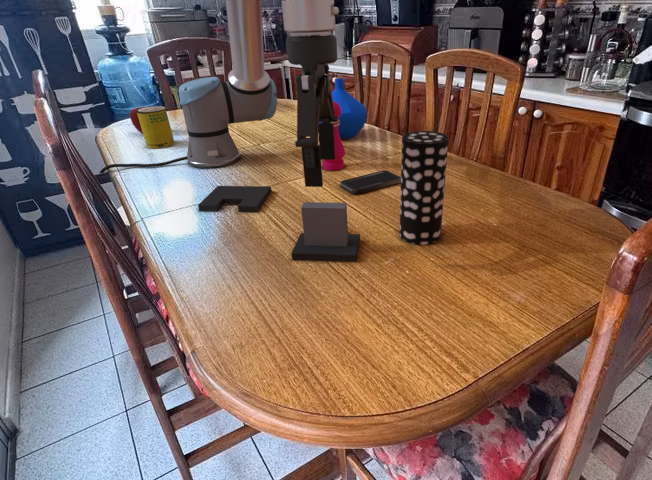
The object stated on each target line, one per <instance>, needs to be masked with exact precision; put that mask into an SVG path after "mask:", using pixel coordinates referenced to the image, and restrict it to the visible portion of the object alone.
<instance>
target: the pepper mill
mask: <svg viewBox="0 0 652 480" xmlns="http://www.w3.org/2000/svg"><path fill="white" fill-rule="evenodd" d="M332 99H333V98H332ZM333 105H334V111H335V115H334V116H337V122H331V123H333V126H334V142H335V160H322V161H321V165H322V169H323V170H325V171H330V172H331V171H339V170H342V169H343V168H344V167H345V161H344V157H345V155H346V149H345V145H344V143H343V141H342V139H340V136H339V131H338V126H339V125H340V123H339V121H340V120H339V119H338V118H339V116H340V115H341V108H340V106H339V104H338V103H336V102H334V101H333Z"/></svg>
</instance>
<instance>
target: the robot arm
mask: <svg viewBox="0 0 652 480" xmlns="http://www.w3.org/2000/svg"><path fill="white" fill-rule="evenodd" d="M262 2H263V1H262V0H225V7H226V19H227V25H228V26H227V27H228V34H229V35H228V36H229V46H230V55H231V65H232V69H231V70H230V71H229V72H228V76H227V80H228V81H221V79H220V78H219V77H218V76H210V77H209V76H208V77H207V76H206V77H201V78H196V79H193V80H189V81H187V82H184V83H183V84H181V85H180V86H179V87H178V95H179V96H178V97H179V104H180V106H181V109H182V114H183V119H184V122H185V126H186V127H185V128H186V132H187V136H188V143H187V144H188V145H187V153H186V154H187V155H186V156H182V157H178V158H175V159H174V158H173V159H170V160H168V161H163V162H156V163H113V164H108V165H106V166H104V167H103V168H101V170H100V171H99V173H98V174H100V175H101V174H104V173H105V172H106V171H107V170H110V169H113V168H135V167H136V168H155V167H162V166H167V165H171V164H175V163H178V162H182V161H187V162H188V163H187V164H188V165H189V166H191V167H193V168H199V169H213V168H214V169H215V168H220V167H225V166H229V165H231V164H234V163H237V161H239V160H240V158H241V157H240V151H239V149H238V147H237V145H236V142H235V141H234V139H233V137H232V136H231V133H230V130H229V125H230V124H238V123H239V124H240V123H248V122H256V121H258V122H260V121H261V122H262V121H264V120H268V119H269V120H270V119H272V118H273V117H274V116H275V115H276V111H277V106H278V96H277V87H276V84H275V82H274V80H273V79H272V78H271V77H270V75H269V73H268V72H267V71H266V70H265V55H264V52H265V51H264V31H263V7H262V5H263V4H262ZM281 8H282V9H281V10H282V19H283V20H282V21H283V31H284V32H286V33H288V36H286V38H285V45H286V56H287V61H288V63H290V64H291V65H294V66H298V65H299V66H301V74H296V75H295V76H296V77H295V82H296V95H297V96H296V105H297V106H296V110H297V111H296V140H295V141H294V147H296V148H300V149H301V157H302V166H303V167H302V168H303V176H304V177H303V178H304V187H305V188H306V187H307V188H323V186H324V182H323V181H324V179H323V166H322V161H323V160H335V142H334V126H333V123H331V122H337V116H334V115H335V111H334V105H333V99H332V93H333V91H332V87H331V86H332V85H331V79H330V66H329V64H334V63H336V62H337V61H338V44H337V43H338V42H337V37H336V35H335V34H333V33H332V32H333V31H335V30H336V17H335V16H336V15H337V16H338V15H339V13H340V9H339V7H337V6H335V0H281ZM319 122H322V123H319Z"/></svg>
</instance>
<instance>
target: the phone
mask: <svg viewBox="0 0 652 480" xmlns="http://www.w3.org/2000/svg"><path fill="white" fill-rule="evenodd" d="M339 184H340V185H339V186H340V188H342V189H344V190H346V191H347V192H349V193H350V194H352V195H360V194H364V193H368V192H371V191H375V190H378V189H382V188H385V187H386V188H387V187H389V186H394V185H397V184H401V175H397V174H395V173H394V172H392V171H389V170H385V169H384V170H380V171H374V172H371V173H368V174H364V175H359V176H355V177H351V178H348V179H343V180H341V181H340V183H339Z"/></svg>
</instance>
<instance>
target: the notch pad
mask: <svg viewBox="0 0 652 480" xmlns="http://www.w3.org/2000/svg"><path fill="white" fill-rule="evenodd" d="M272 190H273V189H272V186H270V185H269V186H267V185H266V186H265V185H263V186H260V185H250V186H249V185H217V186H216V187H215V188H214V189H213V190H212V191H211V192H210V193H209V194H207V196H205V198H204V199H203V200H201V201H200V203H198V204H197V209H198V211H199V212H218V211H220V209H222V208H223V206H224V205H237V210H238V212H239V213H258V212H259V210H260V209H261V208H262V206H264V203H265V202H266V201H267V199H268V198H269V196H270V195H271V194H272V192H273V191H272Z"/></svg>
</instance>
